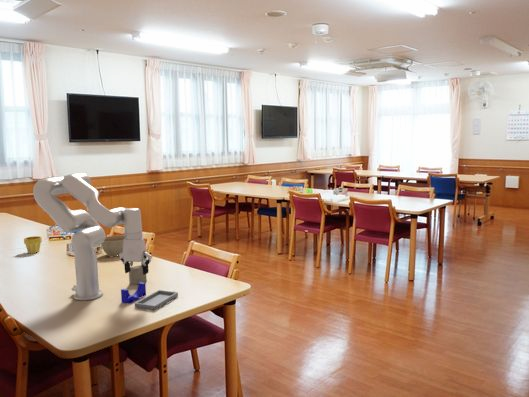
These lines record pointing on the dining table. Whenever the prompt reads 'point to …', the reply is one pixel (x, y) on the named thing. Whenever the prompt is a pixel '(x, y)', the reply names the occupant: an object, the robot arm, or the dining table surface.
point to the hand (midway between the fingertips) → (136, 272)
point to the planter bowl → (113, 245)
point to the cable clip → (132, 298)
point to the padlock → (136, 274)
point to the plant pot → (33, 243)
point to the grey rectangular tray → (156, 300)
